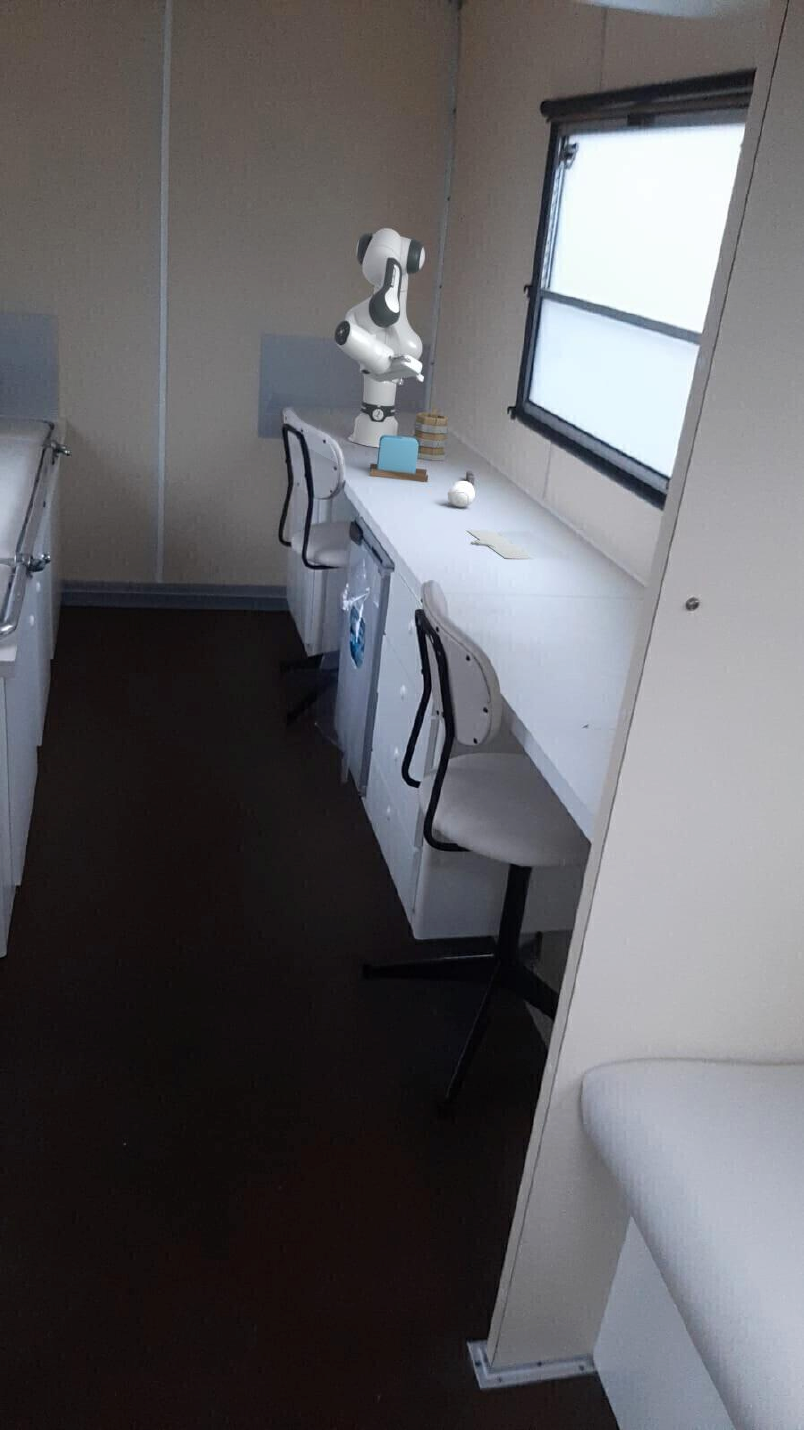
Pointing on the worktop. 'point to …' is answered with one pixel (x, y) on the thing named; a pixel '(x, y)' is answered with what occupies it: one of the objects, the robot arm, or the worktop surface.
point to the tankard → (431, 435)
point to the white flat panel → (498, 544)
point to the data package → (397, 454)
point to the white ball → (461, 494)
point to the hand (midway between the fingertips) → (411, 381)
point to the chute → (410, 474)
